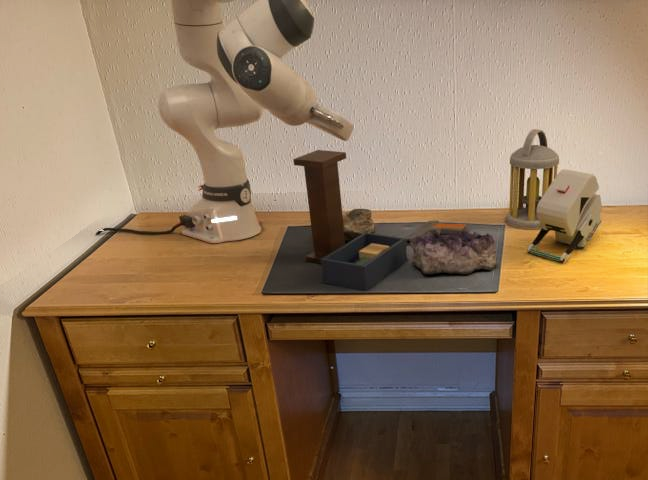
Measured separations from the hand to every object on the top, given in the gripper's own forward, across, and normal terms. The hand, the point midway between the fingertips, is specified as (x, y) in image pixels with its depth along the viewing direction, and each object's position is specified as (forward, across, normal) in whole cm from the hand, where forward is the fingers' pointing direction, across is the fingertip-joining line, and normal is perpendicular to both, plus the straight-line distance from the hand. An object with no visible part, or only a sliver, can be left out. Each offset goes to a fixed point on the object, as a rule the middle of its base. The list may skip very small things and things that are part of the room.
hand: (321, 123), depth 140 cm
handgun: (+40, -23, +9) cm, 47 cm away
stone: (+36, -4, +19) cm, 41 cm away
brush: (+16, -17, +24) cm, 34 cm away
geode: (+23, -35, +15) cm, 44 cm away
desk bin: (+17, -18, +25) cm, 35 cm away
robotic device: (+39, -55, -2) cm, 68 cm away
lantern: (+56, -41, -7) cm, 70 cm away
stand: (+24, -5, +26) cm, 35 cm away
